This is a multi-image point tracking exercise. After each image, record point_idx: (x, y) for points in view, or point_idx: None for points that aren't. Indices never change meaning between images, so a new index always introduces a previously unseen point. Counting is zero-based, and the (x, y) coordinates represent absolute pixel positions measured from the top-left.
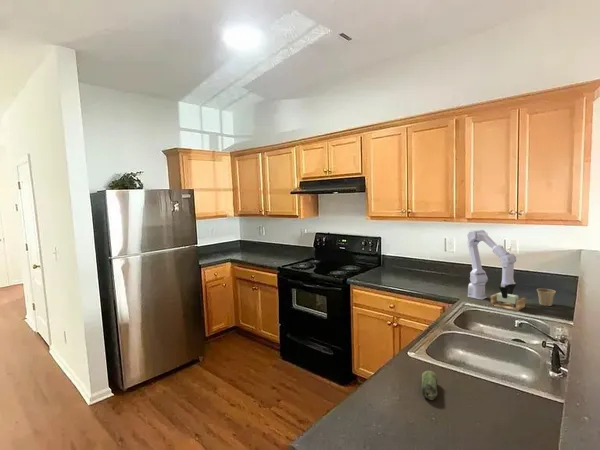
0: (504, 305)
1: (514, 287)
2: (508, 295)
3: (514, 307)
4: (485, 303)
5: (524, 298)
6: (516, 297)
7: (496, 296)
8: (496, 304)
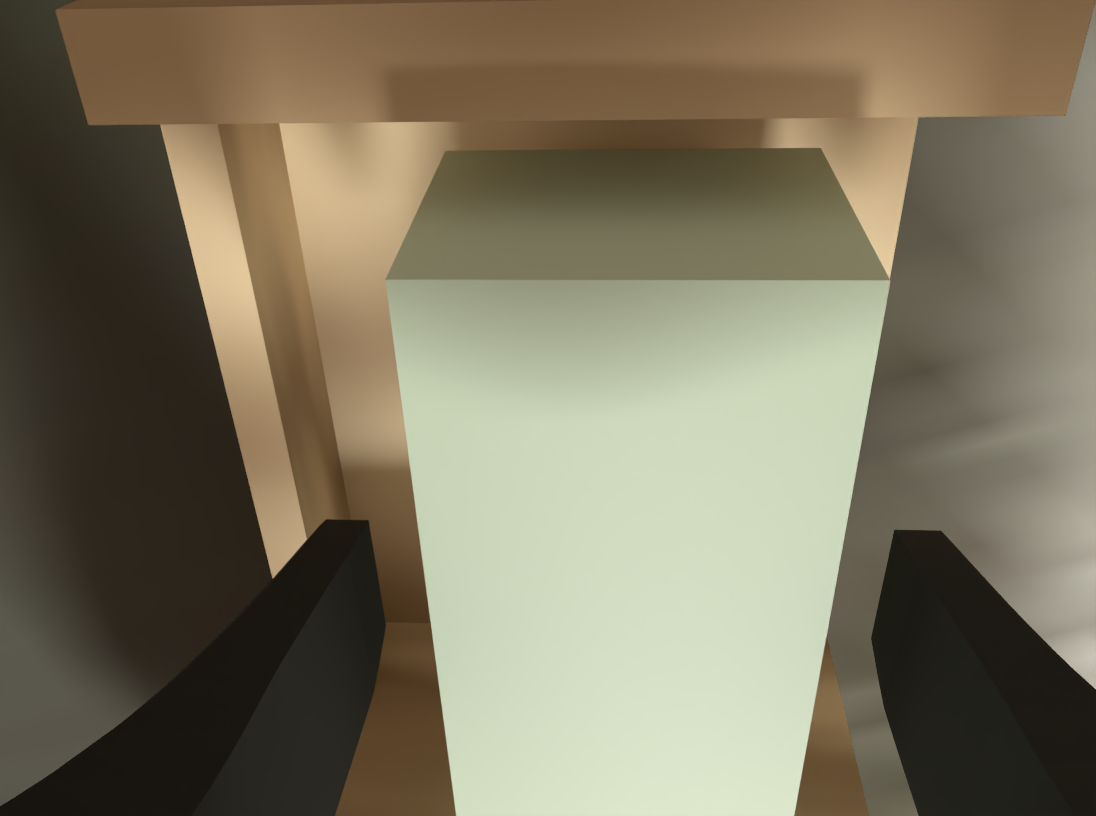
0: None
1: (55, 797)
2: (724, 586)
3: (719, 141)
4: None
5: (169, 3)
6: (710, 262)
7: None
8: None
